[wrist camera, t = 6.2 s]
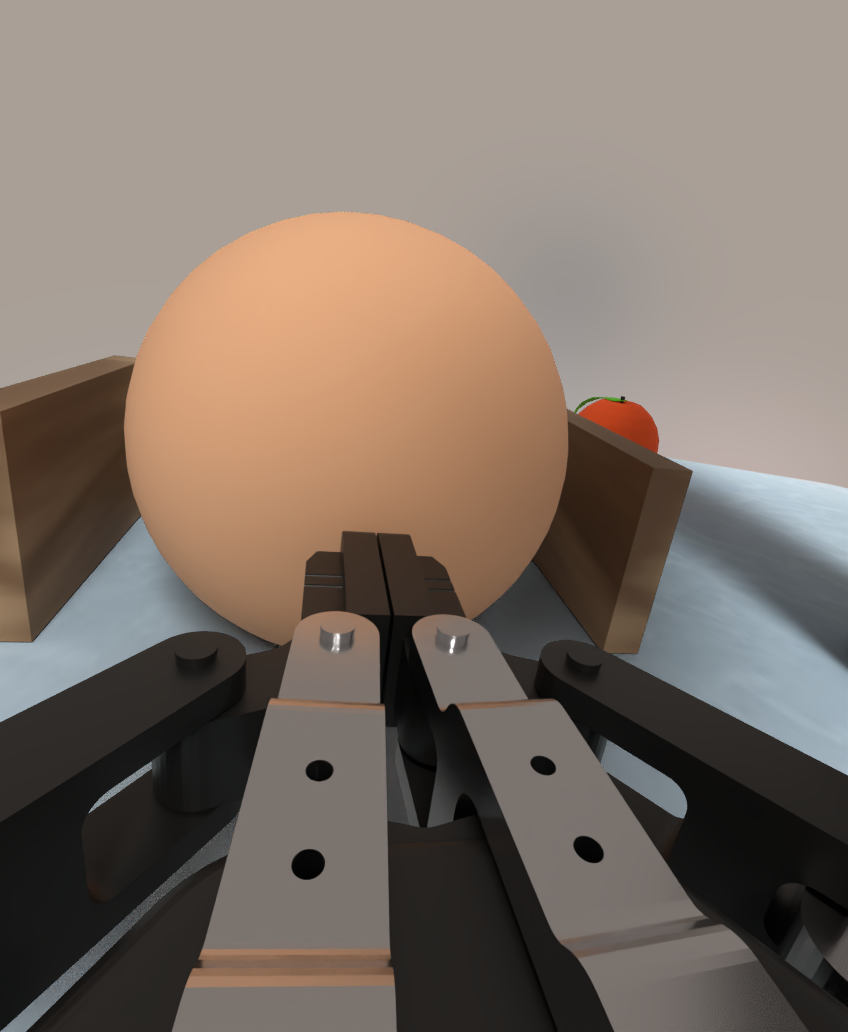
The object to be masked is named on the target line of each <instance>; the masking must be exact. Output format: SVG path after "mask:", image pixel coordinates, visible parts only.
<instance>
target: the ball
mask: <svg viewBox="0 0 848 1032" xmlns="http://www.w3.org/2000/svg"><path fill="white" fill-rule="evenodd" d="M124 436H125V450H126V461H127V470H128V474H129V478H130V483H131V487H132V491H133V495H134V498H135V500H136V503H137V506H138V508H139V511H140V513H141V516H142V518H143V521H144V523H145V525H146V528H147V530H148V532H149V534H150V536H151V538H152V539H153V541H154V543H155V545H156V546H157V548H158V550H159V552H160V553H161V555H162V556H163V558H164V559H165V560H166V561H167V563H168V564H169V565H170V567H171V568H172V569H173V571H174V572H175V573H176V574H177V576H178V577H179V578H180V579H181V580H182V581H183V582H184V584H185V585H186V586H187V587H188V588H189V589H190V590H191V591H192V592H193V593H194V594H195V595H196V596H197V597H198V598H199V599H200V600H201V601H202V602H204V603H205V604H206V605H208V606H209V607H210V608H211V609H213V610H214V611H215V612H216V613H218V614H219V615H221V616H222V617H224V618H226V619H227V620H229V621H230V622H232V623H234V624H235V625H237V626H238V627H240V628H242V629H244V630H246V631H247V632H249V633H252V634H254V635H256V636H258V637H260V638H262V639H264V640H266V641H269V642H272V643H275V644H278V645H280V646H282V645H284V644H286V643H287V642H289V641H290V640H291V639H293V635H294V631H295V628H296V626H297V625H298V624H299V622H301V613H302V602H303V591H304V580H305V569H306V561H307V560H308V559H309V558H310V557H311V556H312V555H313V554H314V553H316V552H317V551H327V552H340V547H341V536H342V531H356V532H374V533H375V534H376V535H377V533H393V534H410V536H411V539H412V542H413V545H414V548H415V551H416V554H417V556H432V557H433V558H434V559H436V560H437V561H438V562H439V563H441V564H442V565H443V566H444V567H446V570H447V572H448V575H449V577H450V579H451V580H450V582H452V584H453V587H454V589H455V592H456V594H457V596H458V599H459V601H460V604H461V606H462V608H463V611H464V613H465V616H466V618H467V619H470V620H472V619H474V618H475V617H476V616H478V615H479V614H481V613H482V612H483V611H484V610H486V609H487V608H488V607H489V606H490V605H492V604H493V603H494V602H495V601H496V600H497V599H499V598H500V597H501V596H502V595H503V594H504V593H505V592H506V591H507V590H508V589H509V588H510V587H511V586H512V585H513V584H514V583H515V581H516V580H517V579H518V578H519V577H520V575H521V574H522V573H523V571H524V570H525V569H526V567H527V566H528V564H529V563H530V562H531V560H532V558H533V557H534V555H535V554H536V552H537V550H538V549H539V547H540V545H541V543H542V542H543V540H544V538H545V536H546V534H547V533H548V530H549V528H550V525H551V523H552V520H553V518H554V515H555V513H556V510H557V506H558V503H559V499H560V496H561V492H562V488H563V484H564V480H565V476H566V467H567V458H568V417H567V408H566V402H565V397H564V392H563V386H562V383H561V380H560V376H559V373H558V370H557V367H556V365H555V361H554V358H553V355H552V352H551V349H550V347H549V345H548V343H547V341H546V340H545V338H544V336H543V334H542V332H541V330H540V328H539V326H538V324H537V322H536V321H535V320H534V318H533V317H532V315H531V314H530V313H529V311H528V310H527V308H526V307H525V305H524V304H523V303H522V301H521V300H520V298H519V297H518V296H517V294H516V293H515V292H514V291H513V289H512V288H511V287H510V286H509V285H508V284H507V283H506V282H505V281H504V280H503V279H502V278H501V277H500V276H499V275H498V274H497V273H496V272H495V271H494V270H493V269H492V268H491V267H489V266H488V265H487V264H486V263H484V262H483V261H482V260H480V259H479V258H478V257H477V256H475V255H474V254H473V253H471V252H470V251H469V250H467V249H465V248H463V247H462V246H460V245H458V244H457V243H455V242H453V241H451V240H449V239H448V238H446V237H444V236H442V235H440V234H438V233H436V232H433V231H431V230H428V229H425V228H423V227H420V226H418V225H415V224H413V223H410V222H408V221H403V220H399V219H395V218H391V217H386V216H382V215H377V214H367V213H355V212H332V213H316V214H309V215H304V216H299V217H295V218H290V219H286V220H281V221H279V222H276V223H274V224H271V225H268V226H265V227H263V228H260V229H258V230H255V231H252V232H250V233H248V234H246V235H244V236H242V237H240V238H239V239H237V240H235V241H233V242H232V243H230V244H228V245H226V246H224V247H223V248H221V249H219V250H218V251H216V252H215V253H214V254H213V255H211V256H210V257H209V258H208V259H206V260H205V261H204V262H203V263H201V264H200V265H199V266H198V267H196V268H195V269H194V270H193V271H192V272H191V273H190V274H189V275H188V276H187V277H186V278H185V279H184V281H183V282H182V283H181V284H180V285H179V286H178V287H177V288H176V289H175V291H174V292H173V293H172V294H171V295H170V297H169V299H168V300H167V301H166V303H165V304H164V306H163V307H162V309H161V311H160V312H159V314H158V315H157V317H156V318H155V320H154V321H153V323H152V324H151V326H150V327H149V329H148V331H147V334H146V336H145V338H144V341H143V343H142V345H141V347H140V350H139V352H138V354H137V357H136V361H135V364H134V368H133V372H132V376H131V380H130V384H129V388H128V393H127V398H126V408H125V419H124Z"/></svg>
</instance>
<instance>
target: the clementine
mask: <svg viewBox="0 0 848 1032" xmlns="http://www.w3.org/2000/svg"><path fill="white" fill-rule="evenodd" d="M599 398H604V399H602V400H599V401H597V402H595V403H593V404H591V405H589V406H587V407H586V408H585V409H584V410H582V411H581V412H580V413H579V414H578V415H580V416H582V417H584V418H586V419H588V420H591V421H593V422H595V423H597V424H599V425H601V426H603V427H605V428H607V429H609V430H611V431H613V432H615V433H617V434H619V435H621V436H623V437H625V438H627V439H629V440H631V441H633V442H635V443H637V444H639V445H641V446H643V447H645V448H647V449H649V450H651V451H653V452H655V453H657V452H658V444H659V437H658V431H657V427H656V425H655V423H654V421H653V419H652V417H651V416H650V415H649V413H648V412H647V411H646V410H645V409H644V408H643V407H642V406H641V405H638V404H636V403H633V402H629V401H627V400H625V397H621V399H618V398H607V397H593V398H590V399H587V400H585V401H583V402H582V403H581V404H580V405H579V406H578V407H577V408H576V410H575V412H574V413H576V412H577V410H578V409H579V408H580V407H582V406H583V405H585V404H586V403H587V402H590V401H593V400H596V399H599Z"/></svg>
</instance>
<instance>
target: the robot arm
mask: <svg viewBox="0 0 848 1032" xmlns="http://www.w3.org/2000/svg"><path fill="white" fill-rule="evenodd" d="M450 580H451V579H450V577H449V575H448V572H447V570H446V567H444V566H443V565H442V564H441V563H439V562H438V561H437V560H436V559H434V558H433V557H432V556H417V554H416V551H415V548H414V545H413V542H412V539H411V536H410V534H393V533H377V535H376V534H375V533H374V532H356V531H342V536H341V547H340V552H327V551H317V552H316V553H314V554H313V555H312V556H311V557H310V558H309V559H308V560H307V561H306V569H305V580H304V591H303V602H302V613H301V622H299V624H298V625H297V626H296V628H295V631H294V635H293V639H291V640H290V641H289V642H287V643H286V644H284V645H282V646H280V647H278V648H275V649H272V650H269V651H265V652H260V653H255V654H249V655H246V650H245V648H244V646H243V645H242V643H241V642H239V641H238V640H237V639H235V638H234V637H231V636H229V635H226V634H223V633H218V632H208V631H200V632H190V633H185V634H180V635H177V636H174V637H171V638H169V639H166V640H164V641H162V642H160V643H158V644H156V645H154V646H152V647H150V648H148V649H146V650H144V651H142V652H140V653H138V654H136V655H134V656H132V657H130V658H128V659H126V660H124V661H122V662H120V663H118V664H116V665H114V666H112V667H110V668H108V669H106V670H104V671H102V672H100V673H98V674H96V675H94V676H92V677H90V678H88V679H86V680H84V681H82V682H80V683H78V684H76V685H74V686H72V687H70V688H68V689H66V690H64V691H62V692H60V693H58V694H56V695H54V696H52V697H50V698H48V699H46V700H44V701H42V702H40V703H38V704H36V705H34V706H32V707H30V708H28V709H26V710H24V711H22V712H20V713H18V714H16V715H14V716H12V717H10V718H8V719H6V720H4V721H2V722H0V1031H1V1030H2V1029H4V1028H5V1027H6V1026H7V1025H8V1024H9V1023H10V1022H11V1021H12V1020H13V1019H14V1018H16V1017H17V1016H18V1015H19V1014H20V1013H21V1012H22V1011H23V1010H24V1009H25V1008H27V1007H28V1006H29V1005H30V1004H31V1003H32V1002H33V1001H34V1000H35V999H36V998H38V997H39V996H40V995H41V994H42V993H43V992H44V991H45V990H46V989H47V988H48V987H50V986H51V985H52V984H53V983H54V982H55V981H56V980H57V979H58V978H59V977H61V976H62V975H63V974H64V973H65V972H66V971H67V970H68V969H69V968H70V967H71V966H73V965H74V964H75V963H76V962H77V961H78V960H79V959H80V958H81V957H82V956H84V955H85V954H86V953H87V952H88V951H89V950H90V949H91V948H92V947H93V946H95V945H96V944H97V943H98V942H99V941H100V940H101V939H102V938H103V937H104V936H105V935H107V934H108V933H109V932H110V931H111V930H112V929H113V928H114V927H115V926H116V925H118V924H119V923H120V922H121V921H122V920H123V919H124V918H125V917H126V916H127V915H129V914H130V913H131V912H132V911H133V910H134V909H135V908H136V907H137V906H138V905H139V904H141V903H142V902H143V901H144V900H145V899H146V898H147V897H148V896H149V895H150V894H152V893H153V892H154V891H155V890H156V889H157V888H158V887H159V886H160V885H161V884H163V883H164V882H165V881H166V880H167V879H168V878H169V877H170V876H171V875H172V874H173V873H175V872H176V871H177V870H178V869H179V868H180V867H181V866H182V865H183V864H184V863H186V862H187V861H188V860H189V859H190V858H191V857H192V856H193V855H194V854H195V853H196V852H198V851H199V850H200V849H201V848H202V847H203V846H204V845H205V844H206V843H207V842H209V841H210V840H211V839H212V838H213V837H214V836H215V835H216V834H217V833H218V832H220V831H221V830H222V829H223V828H224V827H225V826H226V825H227V824H228V823H229V822H230V821H231V820H232V819H233V818H234V817H235V816H236V815H237V813H238V812H239V810H240V812H239V815H238V819H237V823H236V827H235V830H234V834H233V838H232V842H231V845H230V849H229V853H228V855H227V856H224V857H222V858H220V859H219V860H217V861H215V862H213V863H211V864H209V865H207V866H205V867H203V868H202V869H200V870H199V871H197V872H196V873H194V874H193V875H191V876H190V877H188V878H187V879H185V880H184V881H182V882H181V883H180V884H179V885H177V886H176V887H175V888H174V889H172V890H171V891H170V892H169V893H167V894H166V895H165V896H164V897H163V898H162V899H161V900H160V901H158V902H157V903H156V904H155V905H154V906H153V907H152V908H151V909H150V910H149V911H148V912H147V913H146V914H145V915H144V916H143V917H142V918H141V919H140V920H139V921H138V922H137V923H136V924H135V925H134V926H133V927H132V928H131V929H130V930H129V931H128V932H127V933H126V934H125V935H124V936H123V937H122V938H121V939H120V940H119V941H118V942H117V943H116V944H115V945H114V946H113V947H112V948H110V949H109V950H108V951H107V952H106V953H105V954H104V955H103V956H102V957H101V958H100V959H99V960H98V961H97V962H96V963H95V964H94V965H93V966H92V967H91V968H90V969H89V970H88V971H87V972H86V973H85V974H84V975H83V976H82V977H81V978H80V979H79V980H78V981H77V982H76V983H75V984H74V985H73V986H72V987H71V988H70V989H69V990H68V991H67V992H66V993H65V994H64V995H63V996H62V997H61V998H60V999H59V1000H58V1001H57V1002H56V1003H55V1004H54V1005H53V1006H52V1007H51V1008H50V1009H49V1010H48V1011H47V1012H46V1013H45V1014H44V1015H43V1016H42V1017H41V1018H40V1019H39V1020H37V1021H36V1022H35V1023H34V1024H33V1025H32V1026H31V1027H30V1028H29V1029H28V1030H27V1031H26V1032H848V775H846V774H844V773H842V772H840V771H838V770H836V769H834V768H832V767H830V766H828V765H826V764H824V763H822V762H820V761H818V760H816V759H814V758H812V757H811V756H809V755H807V754H805V753H803V752H801V751H799V750H797V749H795V748H793V747H791V746H789V745H787V744H785V743H783V742H781V741H779V740H777V739H775V738H774V737H772V736H770V735H768V734H766V733H764V732H762V731H760V730H758V729H756V728H754V727H752V726H750V725H748V724H746V723H744V722H742V721H740V720H738V719H736V718H735V717H733V716H731V715H729V714H727V713H725V712H723V711H721V710H719V709H717V708H715V707H713V706H711V705H709V704H707V703H705V702H703V701H701V700H699V699H697V698H696V697H694V696H692V695H690V694H688V693H686V692H684V691H682V690H680V689H678V688H676V687H674V686H672V685H670V684H668V683H666V682H664V681H662V680H660V679H658V678H657V677H655V676H653V675H651V674H649V673H647V672H645V671H643V670H641V669H639V668H637V667H635V666H633V665H631V664H629V663H627V662H625V661H623V660H621V659H620V658H618V657H616V656H614V655H612V654H610V653H608V652H606V651H604V650H602V649H600V648H598V647H595V646H593V645H590V644H587V643H583V642H579V641H572V640H559V641H554V642H551V643H549V644H547V645H546V646H544V647H543V649H542V651H541V655H540V659H539V661H534V660H530V659H525V658H520V657H516V656H512V655H508V654H505V653H502V652H500V650H499V649H498V647H497V645H496V644H495V642H494V640H493V639H492V637H491V635H490V634H489V632H488V631H487V630H486V629H485V628H484V627H482V626H481V625H480V624H478V623H476V622H474V621H472V620H470V619H467V618H466V616H465V613H464V611H463V608H462V606H461V604H460V601H459V599H458V596H457V594H456V592H455V589H454V587H453V584H452V582H450ZM385 727H397V733H398V738H397V745H396V753H395V765H396V770H397V774H398V778H399V783H400V787H401V791H402V796H403V800H404V804H405V808H406V813H407V817H408V821H409V825H405V824H400V823H395V822H389V821H387V786H386V735H385ZM607 739H608V740H609V741H611V742H613V743H614V744H616V745H618V746H619V747H621V748H622V749H624V750H626V751H627V752H629V753H631V754H632V755H634V756H635V757H637V758H639V759H640V760H642V761H644V762H645V763H647V764H648V765H650V766H652V767H653V768H655V769H657V770H658V771H660V772H661V773H663V774H665V775H666V776H668V777H669V778H671V779H672V780H673V781H674V782H675V783H676V784H677V785H678V786H679V787H680V788H681V790H682V791H683V793H684V795H685V797H686V800H687V812H686V815H685V818H684V819H682V818H678V817H675V816H673V815H671V814H670V813H668V812H667V811H665V810H664V809H662V808H661V807H659V806H658V805H656V804H654V803H653V802H651V801H650V800H648V799H647V798H645V797H644V796H642V795H641V794H639V793H638V792H636V791H635V790H633V789H632V788H630V787H628V786H627V785H625V784H624V783H622V782H621V781H619V780H618V779H616V778H615V777H613V776H612V775H610V774H609V773H607V772H606V771H605V770H604V769H603V767H602V766H601V764H600V763H601V759H602V756H603V753H604V749H605V746H606V743H607ZM151 761H152V769H151V770H150V771H148V772H147V773H145V774H144V775H143V776H141V777H140V778H138V779H137V780H136V781H134V782H133V783H131V784H130V785H128V786H127V787H126V788H124V789H123V790H121V791H120V792H119V793H117V794H116V795H114V796H113V797H111V798H110V799H109V800H107V801H106V802H104V803H103V804H101V805H100V806H99V807H97V808H96V809H94V810H93V811H92V812H90V813H89V811H90V809H91V808H92V807H93V805H94V804H95V803H96V802H97V801H98V800H99V798H101V797H102V796H103V795H104V794H105V793H106V792H107V791H109V790H110V789H112V788H113V787H114V786H116V785H117V784H119V783H120V782H122V781H123V780H125V779H126V778H128V777H129V776H130V775H132V774H133V773H135V772H136V771H138V770H139V769H141V768H142V767H143V766H145V765H146V764H148V763H149V762H151ZM88 813H89V814H88Z"/></svg>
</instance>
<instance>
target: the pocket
mask: <svg viewBox="0 0 848 1032" xmlns="http://www.w3.org/2000/svg"><path fill="white" fill-rule="evenodd" d="M135 361H136V358H133V357H124V356H111V357H108V358H104V359H101V360H97V361H94V362H90V363H87V364H84V365H80V366H76V367H73V368H69V369H66V370H63V371H59V372H56V373H52V374H49V375H45V376H42V377H38V378H35V379H31V380H28V381H25V382H21V383H17V384H14V385H11V386H7V387H4V388H0V641H6V642H32V641H33V640H34V639H35V638H36V637H37V635H38V634H39V633H40V632H41V631H42V630H43V628H44V627H45V626H46V625H47V624H48V623H49V621H50V620H51V619H52V618H53V617H54V616H55V614H56V613H57V612H58V611H59V610H60V609H61V608H62V606H63V605H64V604H65V603H66V602H67V601H68V599H69V598H70V597H71V596H72V595H73V594H74V592H75V591H76V590H77V589H78V588H79V587H80V585H81V584H82V583H83V582H84V581H85V580H86V578H87V577H88V576H89V575H90V574H91V573H92V571H93V570H94V569H95V568H96V567H97V566H98V565H99V563H100V562H101V561H102V560H103V559H104V558H105V556H106V555H107V554H108V553H109V552H110V551H111V549H112V548H113V547H114V546H115V545H116V544H117V542H118V541H119V540H120V539H121V538H122V537H123V535H124V534H125V533H126V532H127V531H128V530H129V528H130V527H131V526H132V525H133V524H134V523H135V522H136V520H137V519H138V518H139V517H140V516H141V513H140V511H139V508H138V506H137V503H136V500H135V498H134V495H133V491H132V487H131V483H130V478H129V474H128V470H127V461H126V450H125V436H124V419H125V408H126V398H127V393H128V388H129V384H130V380H131V376H132V372H133V368H134V364H135ZM567 417H568V458H567V467H566V476H565V480H564V484H563V488H562V492H561V496H560V499H559V503H558V506H557V510H556V513H555V515H554V518H553V520H552V523H551V525H550V528H549V530H548V533H547V534H546V536H545V538H544V540H543V542H542V543H541V545H540V547H539V549H538V550H537V552H536V554H535V555H534V557H533V558H532V560H533V561H534V562H535V564H536V565H537V566H538V568H539V569H540V570H541V572H542V573H543V574H544V576H545V577H546V578H547V580H548V581H549V582H550V584H551V585H552V586H553V588H554V589H555V590H556V592H557V593H558V594H559V596H560V597H561V598H562V600H563V601H564V602H565V604H566V605H567V606H568V608H569V609H570V610H571V612H572V613H573V614H574V616H575V617H576V618H577V620H578V621H579V622H580V624H581V625H582V626H583V628H584V629H585V630H586V632H587V633H588V634H589V636H590V637H591V638H592V640H593V641H594V642H595V644H596V645H597V646H598V648H600V649H602V650H604V651H606V652H608V653H632V654H638V651H639V647H640V644H641V641H642V637H643V634H644V631H645V628H646V624H647V621H648V618H649V614H650V611H651V608H652V604H653V601H654V598H655V595H656V591H657V588H658V585H659V581H660V578H661V575H662V571H663V568H664V565H665V562H666V558H667V555H668V552H669V548H670V545H671V542H672V538H673V535H674V532H675V529H676V525H677V522H678V519H679V515H680V512H681V509H682V505H683V502H684V499H685V496H686V492H687V489H688V486H689V482H690V479H691V476H692V472H693V471H691V470H689V469H687V468H685V467H683V466H681V465H679V464H677V463H675V462H673V461H671V460H669V459H667V458H665V457H663V456H661V455H659V454H657V453H655V452H653V451H651V450H649V449H647V448H645V447H643V446H641V445H639V444H637V443H635V442H633V441H631V440H629V439H627V438H625V437H623V436H621V435H619V434H617V433H615V432H613V431H611V430H609V429H607V428H605V427H603V426H601V425H599V424H597V423H595V422H593V421H591V420H588V419H586V418H584V417H582V416H580V415H578V414H576V413H574V412H572V411H570V410H568V409H567Z"/></svg>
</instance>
